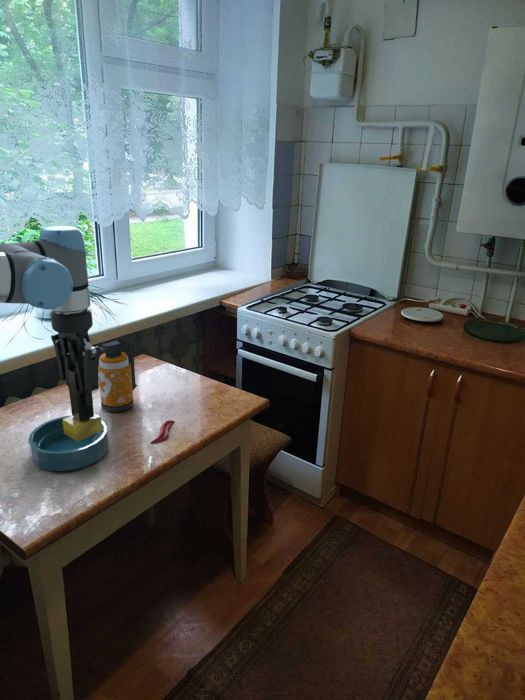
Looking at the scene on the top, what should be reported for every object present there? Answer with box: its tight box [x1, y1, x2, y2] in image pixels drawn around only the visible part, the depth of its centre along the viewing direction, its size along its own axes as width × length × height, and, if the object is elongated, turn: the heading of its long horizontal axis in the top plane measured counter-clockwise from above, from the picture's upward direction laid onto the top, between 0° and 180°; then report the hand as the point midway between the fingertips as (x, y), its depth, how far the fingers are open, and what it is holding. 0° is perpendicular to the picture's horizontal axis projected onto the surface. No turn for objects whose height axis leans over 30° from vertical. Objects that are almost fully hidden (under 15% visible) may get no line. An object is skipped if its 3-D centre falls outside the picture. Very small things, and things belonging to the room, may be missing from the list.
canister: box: [98, 338, 138, 413], centre depth 141 cm, size 9×11×20 cm
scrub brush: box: [62, 368, 102, 442], centre depth 103 cm, size 6×5×14 cm
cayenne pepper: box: [150, 419, 176, 444], centre depth 131 cm, size 12×5×2 cm, turn 154°
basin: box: [27, 414, 109, 472], centre depth 120 cm, size 18×18×6 cm
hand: (83, 415), depth 104 cm, fingers closed on scrub brush, 2 cm apart
